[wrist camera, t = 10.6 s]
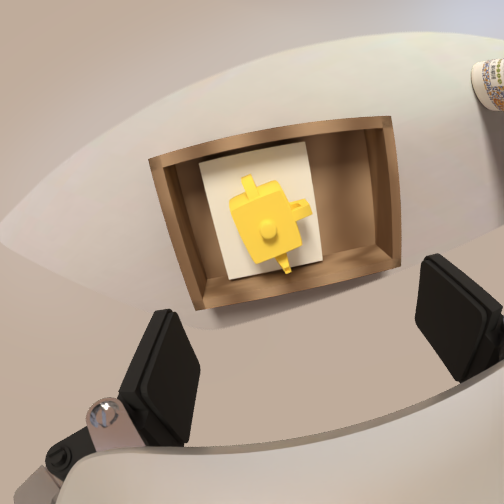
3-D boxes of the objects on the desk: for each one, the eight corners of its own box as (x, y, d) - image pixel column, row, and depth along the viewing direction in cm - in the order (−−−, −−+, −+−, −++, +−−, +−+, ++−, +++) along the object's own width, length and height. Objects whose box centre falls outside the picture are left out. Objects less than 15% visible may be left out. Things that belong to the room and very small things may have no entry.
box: (366, 118, 23) (390, 115, 19) (379, 247, 29) (400, 266, 24) (165, 155, 24) (148, 159, 20) (202, 284, 30) (195, 310, 25)
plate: (300, 141, 23) (304, 141, 21) (317, 252, 27) (322, 260, 26) (202, 161, 24) (198, 163, 22) (229, 270, 28) (228, 279, 26)
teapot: (316, 239, 25) (333, 263, 20) (258, 263, 25) (261, 292, 21) (284, 156, 22) (295, 160, 17) (220, 183, 23) (214, 194, 18)
